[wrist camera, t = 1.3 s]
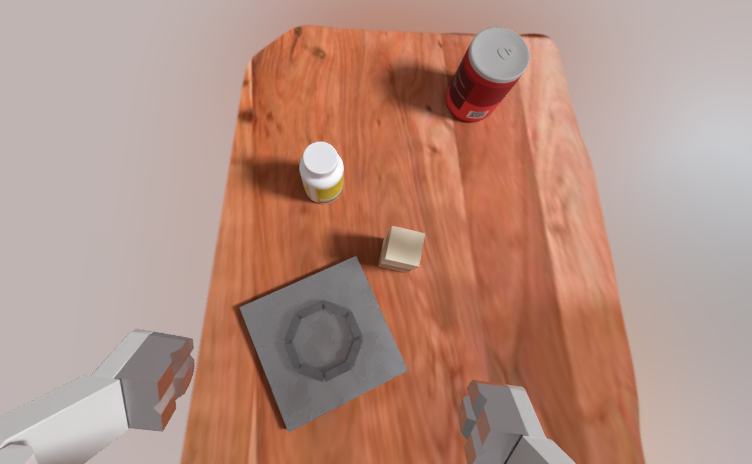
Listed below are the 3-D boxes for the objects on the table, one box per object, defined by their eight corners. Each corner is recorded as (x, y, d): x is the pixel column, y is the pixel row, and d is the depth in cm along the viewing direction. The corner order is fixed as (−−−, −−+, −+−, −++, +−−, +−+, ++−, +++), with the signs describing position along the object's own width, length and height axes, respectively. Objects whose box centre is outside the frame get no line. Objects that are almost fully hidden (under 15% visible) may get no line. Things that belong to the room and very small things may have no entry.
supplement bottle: (350, 179, 51) (352, 150, 42) (330, 211, 50) (329, 189, 41) (316, 161, 51) (312, 127, 42) (296, 192, 50) (287, 165, 41)
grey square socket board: (406, 368, 47) (410, 372, 44) (289, 429, 44) (286, 436, 41) (355, 256, 49) (356, 254, 46) (241, 307, 46) (236, 307, 44)
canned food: (503, 103, 56) (542, 55, 46) (469, 134, 55) (502, 92, 44) (469, 69, 57) (499, 14, 46) (434, 99, 55) (457, 49, 45)
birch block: (406, 272, 49) (418, 266, 42) (377, 266, 49) (385, 258, 41) (411, 244, 50) (425, 233, 43) (383, 238, 50) (392, 225, 42)
